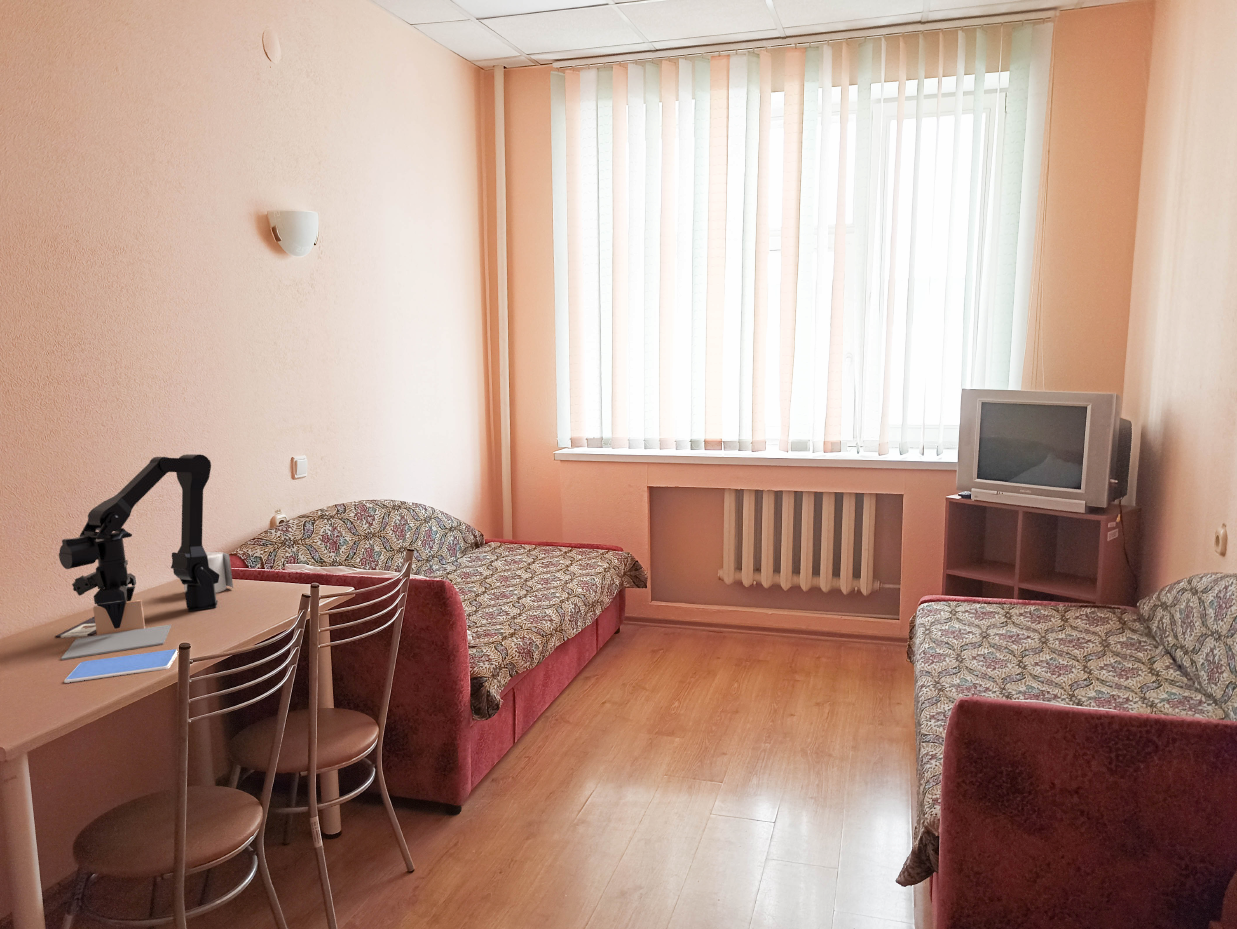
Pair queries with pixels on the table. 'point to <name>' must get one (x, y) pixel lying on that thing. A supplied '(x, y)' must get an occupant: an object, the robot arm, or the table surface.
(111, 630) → the tile
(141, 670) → the tablet computer
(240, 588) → the table surface
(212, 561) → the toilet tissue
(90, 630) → the chocolate bar
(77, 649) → the mat
